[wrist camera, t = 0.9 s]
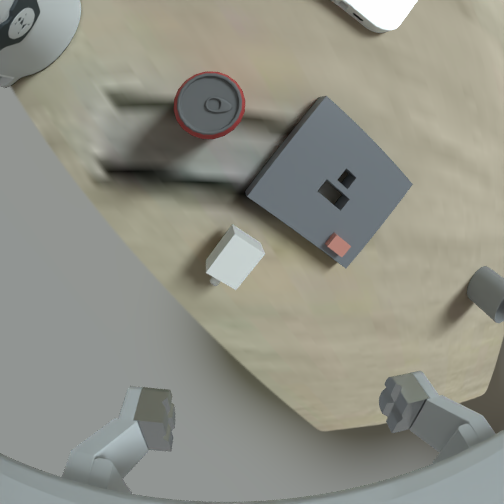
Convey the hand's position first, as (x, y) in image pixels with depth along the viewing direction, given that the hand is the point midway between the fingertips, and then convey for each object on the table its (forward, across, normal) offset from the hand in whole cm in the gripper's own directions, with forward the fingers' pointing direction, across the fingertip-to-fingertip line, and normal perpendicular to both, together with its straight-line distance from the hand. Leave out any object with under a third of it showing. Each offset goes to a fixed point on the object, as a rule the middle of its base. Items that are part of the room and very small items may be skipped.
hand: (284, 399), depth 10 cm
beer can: (+31, +5, -12) cm, 34 cm away
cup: (+37, -52, +15) cm, 66 cm away
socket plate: (+33, -12, -3) cm, 35 cm away
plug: (+32, +2, +6) cm, 33 cm away
